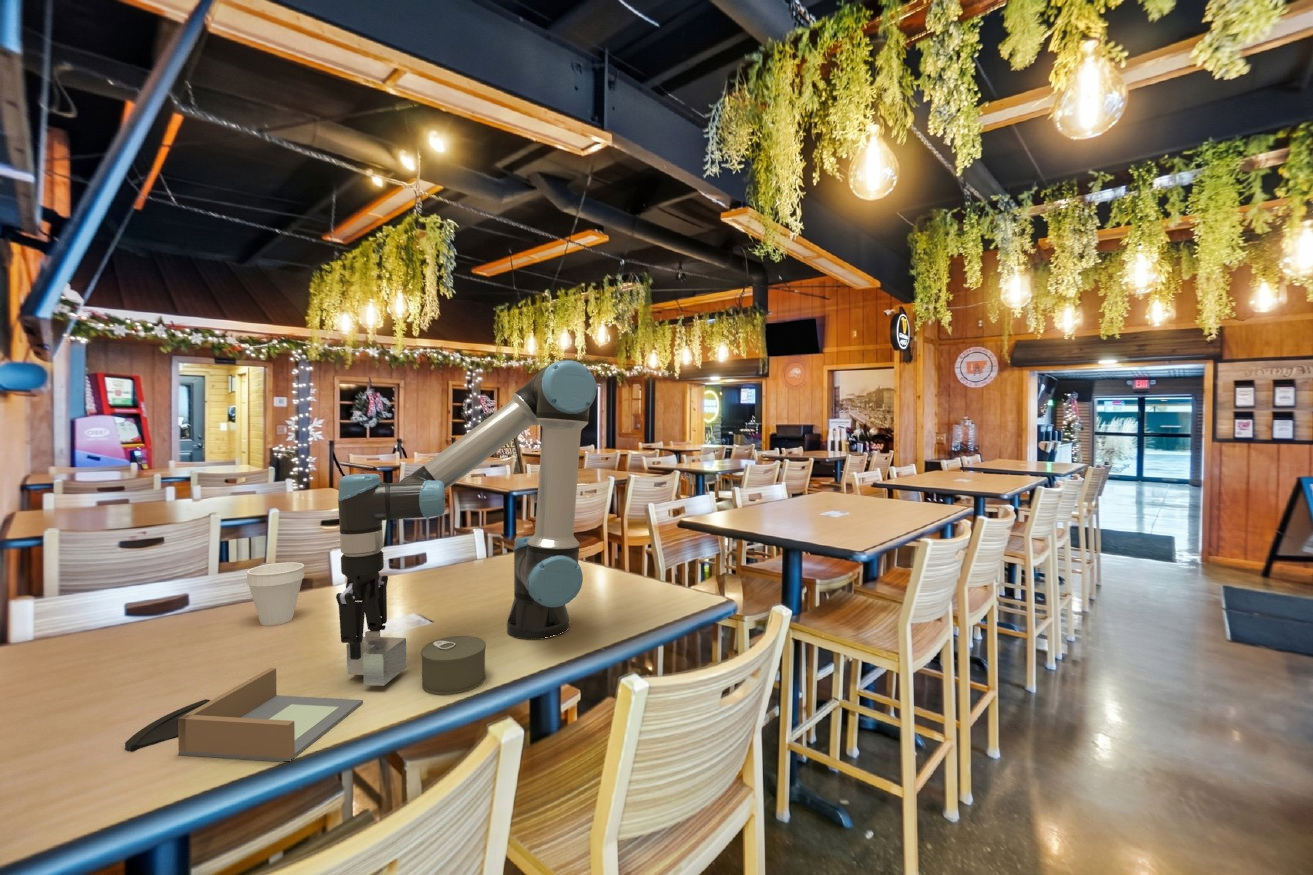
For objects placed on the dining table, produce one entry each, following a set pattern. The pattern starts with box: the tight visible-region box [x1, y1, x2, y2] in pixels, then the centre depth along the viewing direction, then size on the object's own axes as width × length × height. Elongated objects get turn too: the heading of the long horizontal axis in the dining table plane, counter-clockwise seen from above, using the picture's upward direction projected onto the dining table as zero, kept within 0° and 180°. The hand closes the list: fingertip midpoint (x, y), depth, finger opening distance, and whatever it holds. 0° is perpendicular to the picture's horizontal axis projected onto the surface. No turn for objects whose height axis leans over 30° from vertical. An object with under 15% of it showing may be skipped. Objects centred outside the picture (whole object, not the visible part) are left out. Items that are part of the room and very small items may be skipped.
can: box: [420, 635, 487, 696], centre depth 111 cm, size 12×12×7 cm
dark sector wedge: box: [124, 699, 211, 752], centre depth 94 cm, size 8×14×2 cm, turn 157°
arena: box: [177, 667, 364, 762], centre depth 94 cm, size 18×18×6 cm
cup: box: [246, 561, 306, 627], centre depth 145 cm, size 12×12×14 cm
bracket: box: [346, 636, 408, 687], centre depth 111 cm, size 10×8×6 cm
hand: (366, 668), depth 113 cm, fingers closed on bracket, 4 cm apart
